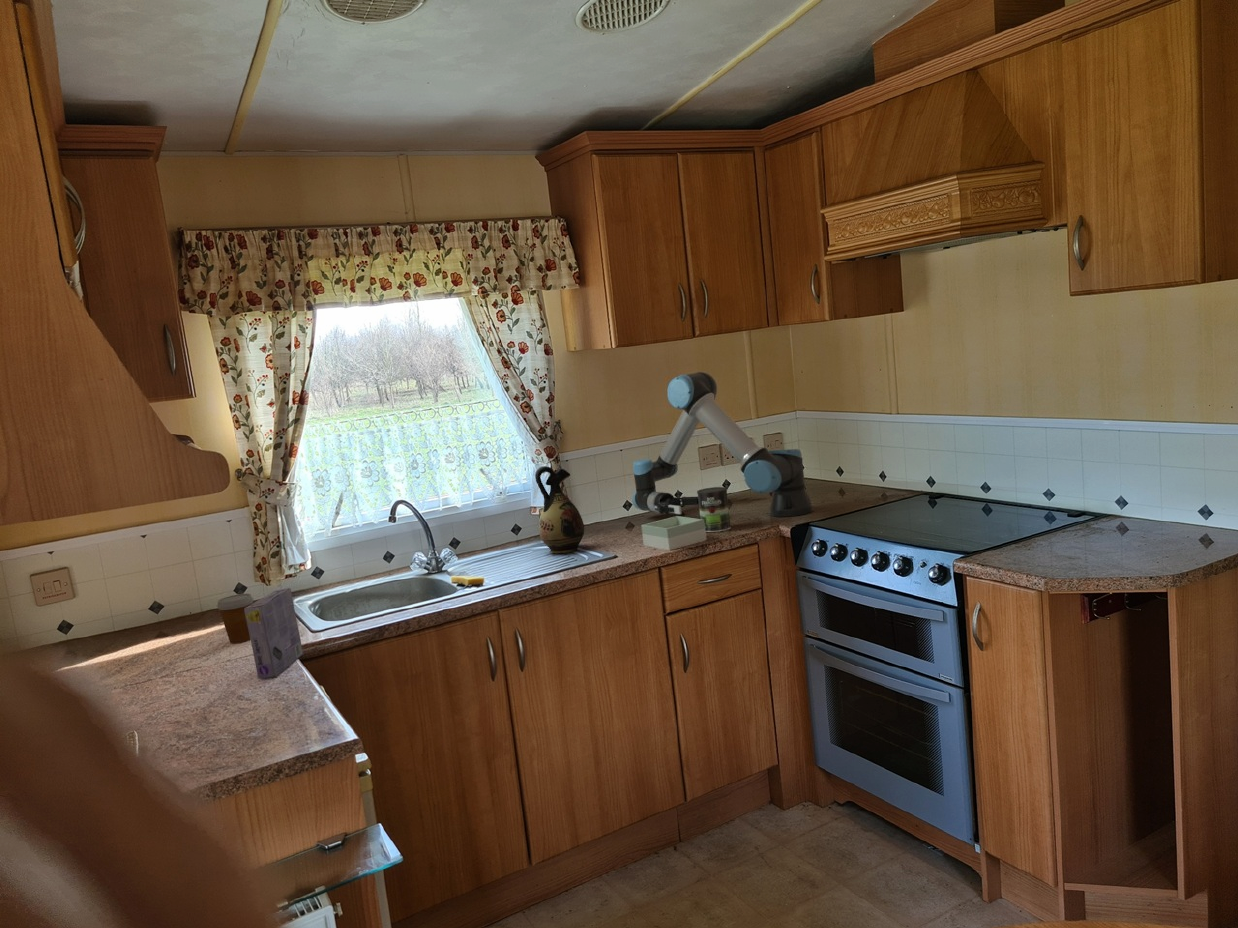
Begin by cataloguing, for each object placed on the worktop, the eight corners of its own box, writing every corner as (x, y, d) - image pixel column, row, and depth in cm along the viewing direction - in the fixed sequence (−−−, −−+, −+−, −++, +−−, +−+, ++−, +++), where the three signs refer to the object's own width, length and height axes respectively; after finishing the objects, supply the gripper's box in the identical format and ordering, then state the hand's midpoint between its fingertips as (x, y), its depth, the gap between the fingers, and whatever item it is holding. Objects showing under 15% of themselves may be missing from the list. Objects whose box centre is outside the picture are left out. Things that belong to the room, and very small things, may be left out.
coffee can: (729, 531, 322) (724, 490, 320) (699, 534, 324) (694, 493, 323) (733, 525, 332) (728, 485, 330) (704, 527, 334) (699, 488, 333)
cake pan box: (287, 655, 241) (275, 587, 239) (306, 652, 241) (294, 585, 239) (255, 681, 222) (242, 608, 220) (276, 678, 222) (263, 605, 220)
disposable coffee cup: (231, 647, 256) (223, 604, 255) (218, 642, 263) (210, 600, 262) (265, 636, 262) (258, 594, 261) (252, 632, 269) (244, 591, 268)
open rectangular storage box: (679, 535, 325) (677, 516, 324) (706, 540, 313) (704, 519, 312) (643, 545, 318) (641, 525, 317) (669, 550, 305) (666, 529, 304)
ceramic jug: (576, 543, 336) (564, 460, 333) (593, 549, 322) (582, 462, 319) (531, 553, 329) (519, 468, 326) (547, 559, 315) (534, 471, 312)
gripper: (689, 505, 361) (724, 509, 343) (635, 519, 348) (668, 523, 330) (687, 486, 360) (722, 489, 342) (632, 498, 347) (665, 502, 329)
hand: (695, 506), depth 336 cm, fingers open, 13 cm apart
